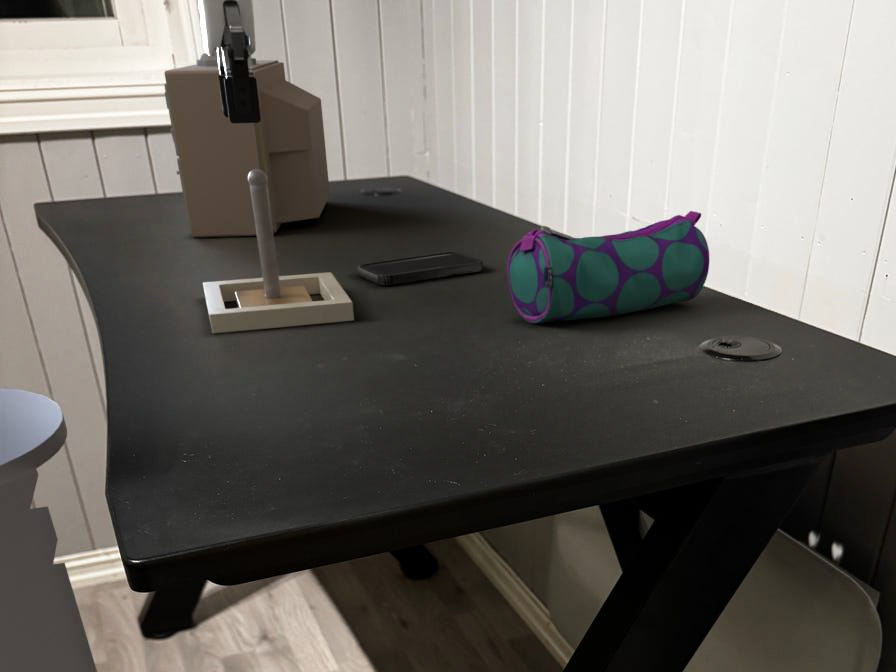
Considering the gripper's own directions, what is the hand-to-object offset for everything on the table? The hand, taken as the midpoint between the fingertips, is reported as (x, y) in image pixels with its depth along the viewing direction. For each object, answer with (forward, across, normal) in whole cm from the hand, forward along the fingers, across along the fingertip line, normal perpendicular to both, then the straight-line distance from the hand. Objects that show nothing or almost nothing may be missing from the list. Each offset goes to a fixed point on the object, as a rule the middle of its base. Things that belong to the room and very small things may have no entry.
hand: (241, 119), depth 101 cm
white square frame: (+19, +6, +1) cm, 20 cm away
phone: (+18, -6, +21) cm, 28 cm away
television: (+18, -57, +6) cm, 60 cm away
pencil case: (+19, +20, +36) cm, 45 cm away
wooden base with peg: (+19, +6, +1) cm, 20 cm away
